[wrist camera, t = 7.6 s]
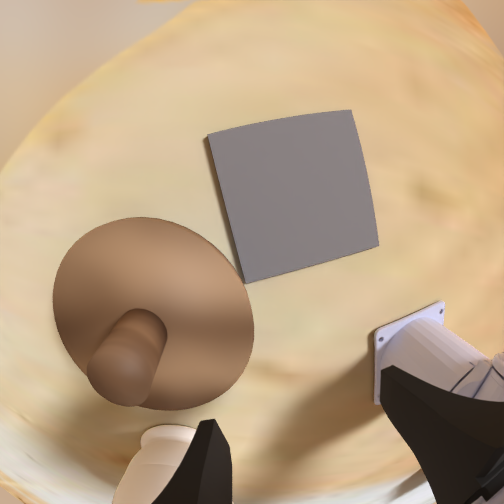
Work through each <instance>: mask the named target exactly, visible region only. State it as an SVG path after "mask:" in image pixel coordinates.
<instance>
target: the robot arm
mask: <svg viewBox="0 0 504 504" xmlns="http://www.w3.org/2000/svg"><path fill="white" fill-rule="evenodd" d="M444 311H445V303H444V302H443V301H438V302H436V303H434V304H432V305H430V306H428V307H426V308H424V309H422V310H420V311H417V312H415V313H413V314H411V315H409V316H406V317H404V318H402V319H400V320H397V321H395V322H393V323H390V324H388V325H385V326H383V327H380V328H378V329H377V330H376V331H375V333H374V347H375V384H374V403H375V405H380V404H381V405H382V407H383V409H384V411H385V413H386V414H387V416H388V418H389V419H390V421H391V422H392V424H393V425H394V426H395V428H396V429H397V431H398V432H399V433H400V435H401V436H402V437H403V439H404V440H405V442H406V443H407V444H408V446H409V447H410V448H411V450H412V451H413V453H414V455H415V456H416V458H417V460H418V462H419V464H420V466H421V468H422V469H423V472H424V474H425V476H426V478H427V480H428V482H429V484H430V487H431V489H432V492H433V494H434V497H435V499H436V502H437V504H504V352H502V353H498V354H496V355H495V356H494V358H493V360H490V359H489V358H488V357H486V356H485V355H484V354H482V353H481V352H479V351H478V350H477V349H475V348H474V347H473V346H471V345H470V344H468V343H467V342H466V341H464V340H463V339H461V338H460V337H459V336H457V335H456V334H454V333H453V332H452V331H450V330H449V329H447V328H446V327H444V326H443V323H444ZM379 338H381V339H380V340H379ZM151 504H232V461H231V454H230V447H229V444H228V442H227V440H226V439H225V437H224V435H223V433H222V431H221V429H220V428H219V426H218V424H217V422H216V420H215V419H210V420H203V421H200V423H199V425H198V427H197V430H196V432H195V434H194V437H193V439H192V441H191V443H190V446H189V448H188V450H187V452H186V454H185V455H184V457H183V459H182V461H181V463H180V465H179V466H178V468H177V470H176V471H175V473H174V475H173V476H172V478H171V479H170V481H169V482H168V484H167V485H166V486H165V488H164V489H163V490H162V492H161V493H160V494H159V495H158V497H157V498H156V499H155V500H154V501H153V502H152V503H151Z"/></svg>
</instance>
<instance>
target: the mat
mask: <svg viewBox="0 0 504 504" xmlns="http://www.w3.org/2000/svg"><path fill="white" fill-rule="evenodd" d="M207 135H208V139H209V143H210V147H211V151H212V155H213V159H214V163H215V167H216V171H217V175H218V179H219V183H220V187H221V190H222V194H223V198H224V202H225V206H226V210H227V214H228V218H229V221H230V225H231V229H232V233H233V237H234V240H235V244H236V248H237V252H238V256H239V259H240V263H241V267H242V271H243V274H244V278H245V282H246V283H250V282H254V281H258V280H261V279H265V278H269V277H273V276H276V275H280V274H284V273H287V272H291V271H294V270H298V269H302V268H305V267H309V266H312V265H316V264H319V263H323V262H326V261H330V260H333V259H337V258H340V257H344V256H347V255H350V254H354V253H357V252H361V251H364V250H367V249H370V248H374V247H377V246H379V241H378V233H377V226H376V219H375V213H374V207H373V201H372V195H371V190H370V185H369V180H368V175H367V170H366V166H365V161H364V157H363V152H362V148H361V144H360V140H359V136H358V133H357V129H356V125H355V122H354V118H353V115H352V111H351V110H341V111H331V112H323V113H314V114H307V115H300V116H293V117H287V118H281V119H275V120H270V121H264V122H259V123H254V124H250V125H245V126H240V127H236V128H231V129H227V130H223V131H219V132H215V133H211V134H207Z"/></svg>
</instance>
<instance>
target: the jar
mask: <svg viewBox="0 0 504 504" xmlns="http://www.w3.org/2000/svg"><path fill="white" fill-rule="evenodd" d="M196 430H197V429H194V428H190V427H186V426H180V425H160V426H156V427H153V428H150V429H148V430H147V431H146V432H145V433H144V434H143V435H142V437H141V448H142V449H140V450H139V451H138V452H137V453H136V455H135V456H134V457H133V458H132V460H131V462H130V463H129V465H128V467H127V469H126V472H125V473H124V475H123V477H122V479H121V481H120V483H119V485H118V487H117V489H116V492H115V494H114V497H113V501H112V504H151V503H152V502H153V501H154V500H155V499H156V498H157V497H158V495H159V494H160V493H161V492H162V490H163V489H164V488H165V486H166V485H167V484H168V482H169V481H170V479H171V478H172V476H173V475H174V473H175V471H176V470H177V468H178V466H179V465H180V463H181V461H182V459H183V457H184V455H185V454H186V452H187V450H188V448H189V446H190V443H191V441H192V439H193V437H194V434H195V432H196ZM232 504H233V500H232Z"/></svg>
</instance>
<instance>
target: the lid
mask: <svg viewBox="0 0 504 504" xmlns="http://www.w3.org/2000/svg"><path fill="white" fill-rule="evenodd" d="M53 310H54V317H55V322H56V325H57V329H58V332H59V335H60V337H61V340H62V342H63V344H64V346H65V348H66V350H67V351H68V353H69V355H70V356H71V358H72V359H73V361H74V362H75V363H76V365H77V366H78V367H79V368H80V369H81V371H82V372H83V373H84V374H85V375H86V376H87V377H88V379H89V381H90V383H91V385H92V386H93V388H94V389H95V390H96V391H97V392H98V393H99V394H100V395H101V396H102V397H104V398H105V399H107V400H108V401H110V402H112V403H115V404H118V405H121V406H140V407H144V408H149V409H154V410H182V409H189V408H193V407H197V406H200V405H203V404H205V403H208V402H210V401H212V400H214V399H215V398H217V397H219V396H220V395H222V394H223V393H224V392H226V391H227V390H228V389H229V388H230V387H231V386H232V385H233V384H234V383H235V382H236V381H237V380H238V379H239V377H240V376H241V374H242V373H243V371H244V369H245V367H246V366H247V364H248V361H249V358H250V355H251V352H252V348H253V342H254V322H253V315H252V309H251V305H250V301H249V298H248V294H247V291H246V289H245V287H244V285H243V282H242V280H241V278H240V277H239V275H238V273H237V272H236V270H235V268H234V267H233V266H232V264H231V263H230V262H229V261H228V259H227V258H226V257H225V256H224V255H223V254H222V253H221V252H220V251H219V250H218V249H217V248H216V247H215V246H214V245H213V244H212V243H210V242H209V241H207V240H206V239H205V238H203V237H202V236H201V235H199V234H197V233H195V232H194V231H192V230H190V229H188V228H186V227H184V226H181V225H179V224H176V223H173V222H170V221H166V220H162V219H157V218H147V217H136V218H126V219H121V220H116V221H113V222H110V223H107V224H104V225H102V226H99V227H97V228H95V229H93V230H91V231H90V232H88V233H86V234H85V235H84V236H82V237H81V238H80V239H79V240H78V241H76V242H75V244H74V245H73V246H72V247H71V248H70V249H69V250H68V252H67V253H66V255H65V257H64V258H63V260H62V262H61V264H60V266H59V269H58V271H57V274H56V278H55V282H54V289H53Z"/></svg>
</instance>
